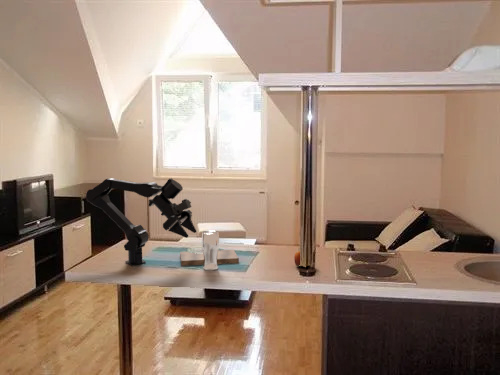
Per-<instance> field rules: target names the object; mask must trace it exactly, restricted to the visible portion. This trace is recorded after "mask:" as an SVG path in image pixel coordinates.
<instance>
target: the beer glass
mask: <svg viewBox="0 0 500 375" xmlns="http://www.w3.org/2000/svg"><path fill="white" fill-rule="evenodd" d="M201 233H202V234H201V251H203V255H204V264H203V265H202V266H203V267H202V269H203V270H205V271H215V270H218V269H219V264H218V263H217V256H218V250H220V236H219V234H220V233H219V231H218V230H203V231H202V232H201Z"/></svg>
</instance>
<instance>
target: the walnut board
mask: <svg viewBox="0 0 500 375" xmlns="http://www.w3.org/2000/svg"><path fill="white" fill-rule="evenodd" d="M179 255H180V256H179V258H180V265H181V266H198V265H199V266H200V265H202V266H203V265H204V255H203V254H197V253H196V254H195V253H189V251H179ZM217 263H218V265H220V264H239V263H240V258H239V256H238V255H237V253H236V251H235V249H219V250H218V256H217Z"/></svg>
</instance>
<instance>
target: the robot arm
mask: <svg viewBox="0 0 500 375" xmlns="http://www.w3.org/2000/svg"><path fill="white" fill-rule="evenodd" d="M183 189H184V188H183V186H182V184H181V183H180V182H178V181H176V180H174V178H172V177H171V178H168V180H167V181H166V182H165V183H164V184H163V185H159V184H158V183H157V182H154V181H151V182H150V181H149V182H148V181H145V182H134V181H130V180H129V181H128V180H122V179H118V178H117V179H116V178H114V177H111V178H110V177H109V178H106V179H104V180H103V181H102V182H100V183H99V184H98V185H96V186H95V187H93V188H91V189H88V190H87V191H86V193H85V194H86V195H85V198H86V201H87V202H89V203H90V204H91V205H92V206H94V207H97V208H99V209H101V210H102V211H103V212H104V213H105V214H106V215H107V216H108V217H109V218H110V220H112V221H113V222H114V223H115V224H116V225H117V226H118V227H119V228H120V229H121V230H122V231H123V233H124V234H125V237H126V240H127V241H126V243H125V244H123V248H124V250H125V251H127V256H128V257H127V259H128V260H124V261H125V263H126V264H128V265H130V266H136V265H142V264H146V263H147V262H146V261H145V260H143V248H144V247H145V246H146V244H147V243H148V242H149V238H150V237H149V233H148V230H147V229H145V228H144V227H143V225H142V224H138V225H135V224H134V223H132V222H131V221H130V219H128V217H127V216H125V215H124V214H123V212H122V211H120V210H119V209H118V207H116V205H115V204H114V203H113V202H112V201H111V200H110V196H109V193H110V192H111V191H112V190H118V191H119V190H120V191H125V192H129V193H130V192H132V193H136V194H137V195H138V196H141V197H145V198H151V199H148V207H152V206H155V207H156V208H157V209H158V210H159V211H160V212H161V214H160V215H161V216H162V217H164V216H165V218H166V220H165V222H163V223H162V228H163V230H165V231H167V232H171V233H173V234H176V235H178V236H181V237H184V238H189V234H188V233H187V231H186V230H188V231H190V232H192V233H194V234H196V233H197V229H196V227H195V225H194V223H193V220H192V216H193V214H192V213H193V212H192V211H191V210H190V208H192V205H191V203H192V202H191V200H190V199H187V198H184V199H183V200H181V203H178V204H177V203H175V202H174V203H173V202H172V201H171V200H174V199H175V198H176V197H177V196H178V195H179V194H180V193H181V192H182V191H183ZM170 199H171V200H170ZM185 229H186V230H185Z"/></svg>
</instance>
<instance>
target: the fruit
mask: <svg viewBox="0 0 500 375" xmlns="http://www.w3.org/2000/svg"><path fill="white" fill-rule="evenodd" d="M300 251H301V250H299V251H295V253H294V257H293V258H294V259H293V260H294V264H295V266H296V268H300V267H299V265H300Z"/></svg>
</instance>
